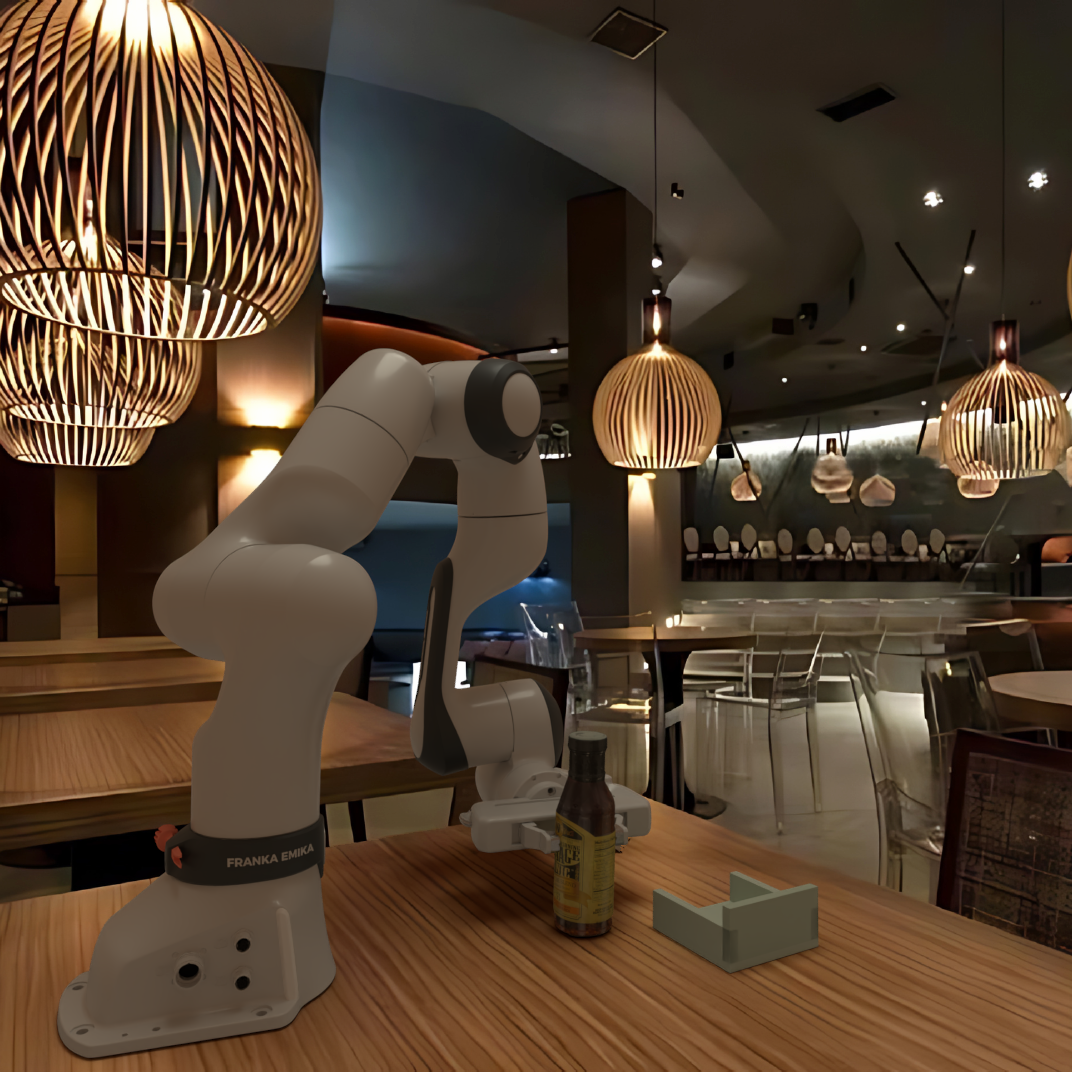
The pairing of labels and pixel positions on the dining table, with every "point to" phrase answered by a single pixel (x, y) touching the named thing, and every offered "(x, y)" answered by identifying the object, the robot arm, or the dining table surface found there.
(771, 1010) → the dining table surface
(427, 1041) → the dining table surface
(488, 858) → the dining table surface
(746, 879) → the caddy
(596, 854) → the sauce bottle
